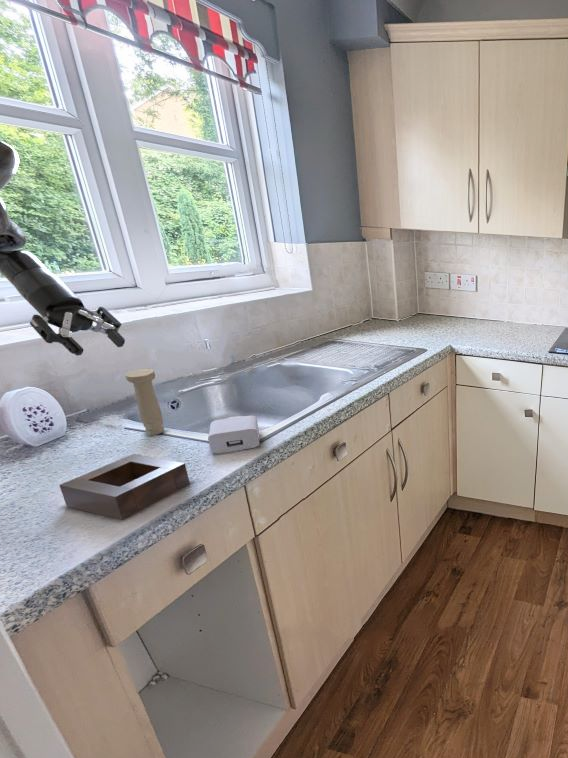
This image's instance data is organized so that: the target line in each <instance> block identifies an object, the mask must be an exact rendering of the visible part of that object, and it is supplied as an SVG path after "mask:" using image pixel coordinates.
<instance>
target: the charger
mask: <svg viewBox="0 0 568 758" xmlns="http://www.w3.org/2000/svg"><path fill="white" fill-rule="evenodd" d="M259 429H260V428H259V424H258V418H257V417H256V416H255V415H244V416H242V415H237V416H229V417H227V418H219V419H215V420H213V421H211V422H210V426H209V432H208V437H207V440H208V441H207V442H208V445H209V450H210V453H212V454H226V453H232V452H238V451H243V450H249V449H254V448H257V447H259V445H260V430H259Z"/></svg>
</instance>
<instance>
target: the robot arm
mask: <svg viewBox="0 0 568 758" xmlns="http://www.w3.org/2000/svg"><path fill="white" fill-rule="evenodd" d="M19 164H20V158H19V154H18V152H17V151H16V150H15V148H14V147H12V146H11V145H9V144H8V143H6V142H4V141H2V140H0V191H2V190H3V189H4V188H5V187H6V186H7V185H8V184H9V183H10V181H12V179H13V178H14V176H15V174H16V173H17V170H18V167H19ZM27 242H28V238H27V235H26V233H25V232H24V230H23V229H22V227H20V226H19V225H18V224H17V223H16V222H15V221H13V219H11V218H10V215H9V211H8V208H7V205H6V203H5V202H4V200H3V198H1V197H0V274H1V275H2V276H3V277H4V278H5V279H6V280H7V281H8V282H9V283H10V284H11V285H12V286H13V287H14V288H15V289H16V291H17V292H18V294H19V295H21V297H22V298H23V299H24V300H25V301H26V302H27V303H28V304H29V305H30V306H32V308H33V309H34V310H35V311H36V312H37V313H38V314H33V315H32V317H31V319H30V321H29V325H30V326H31V327H32V328H33V330H35V332H36V333H37V334H38V335H39V336H40V337H41V338H42V339H43V341H44V342H45V343H46V344H53V343H58V344H60V345H62V346H63V347H64V348H65V349H66V350H67V351H68V352H69V353H71V354H73V355H74V356H77V357H78V356H81V355H83V353H84V348H83V347H82V346H81V344H79V343H78V342H77V341H76V340H75V339H74V338H73V337H72V336H70V332H72V333H77V332H80V331H83V332H85V331H92V332H94V333H101V334H103V335H106V338H108V339H109V340H110V341H111V342H112V343H113V344H114V345H115V346H116V347H117V348H122V347H124V345H125V343H126V342H125V341H126V339H125V338H124V337H123V335H122V334H120V332H119V330H120V328H121V326H122V323H121V321H119V320H118V319H117V318H116V317H115V316H114V315H113V314H112V313H111V312H110V311H108V309H106V308H105V307H104V306H98V308H97V309H93V310H91V309H89V308H87V307H86V306H85V305H84V303H83V301H82V300H81V299H80V298H79V297H78V296H77V295H76V293H74V292H73V290H72V289H70V287H68V285H66V283H65V282H63V280H62V279H61V278H60V277H58V275H56V274H55V273H54V272H52V271H51V270H50V269H49V267H47V266H46V265H45V264H44V263H43V262H42V261H41V260H40V258H38V257H37V256H36V255H35V254H34V253H32V252H30V251H27V250H22V249H21V248H24V247H25V245H26V244H27ZM20 249H21V250H20ZM94 323H95V324H96V325H93V324H94ZM50 325H51V326H54V327H56V328H58V332H55V331H54V329H53V328H52V327H51V326H50Z"/></svg>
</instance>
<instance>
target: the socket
mask: <svg viewBox="0 0 568 758" xmlns="http://www.w3.org/2000/svg"><path fill="white" fill-rule="evenodd" d="M190 484H191V482H190V477H189V474H188V469H187V466H186V463H185V462H181V461H174V460H169V459H164V458H158V457H154V456H149V455H143V454H136V453H132V454H129V455H127V456H125V457H123V458H120V459H118V460H115V461H113V462H112V463H108V464H106V465H103V466H101V467H99V468H97V469H93V470H92V471H89V472H87V473H85V474H83V475H82V474H81V475H79V476H77V477H75V478H72V479H70V480H68V481H65V482H62V483H60V484H59V485H58V487H59V489H60V491H61V494H62V497H63V499H64V503H65V505H66V507H67V508H70V509H74V510H78V511H83V512H86V513H91V514H95V515H100V516H105V517H109V518H112V519H113V518H114V519H117V520H122V521H123V520H125V519H126V518H128V517H130V516H132V515H134V514H136V513H137V512H139V511H142V510H143V509H145V508H148V506H151V505H152V504H154V503H156V502H159V501H160V500H162V499H165V497H168V496H170V495H172V494H173V493H175V492H177V491H179V490H181V489H183V488H184V487H187V486H188V485H190Z"/></svg>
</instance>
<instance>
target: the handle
mask: <svg viewBox="0 0 568 758" xmlns="http://www.w3.org/2000/svg"><path fill="white" fill-rule="evenodd" d="M125 379H126V381H127V382H129V383H131V384H133V388H134V392H135V399H136V402H137V409H138V412H139V416H140V419H141V423H142V425H143V427H144V429H145V432H146V434H147V435H149V436H155V435H160V434H161V433H164V431H165V426H163V425H164V421H163V414H162V410H161V406H160V404H159V401H158V397H157V394H156V391H155V388H154V385H153V380H155V379H156V373H155V370H154V369H152V368H140V369H134V370H131V371H128V372H126V373H125Z"/></svg>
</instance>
